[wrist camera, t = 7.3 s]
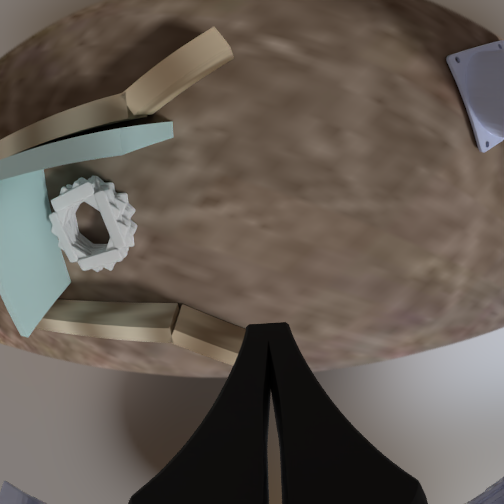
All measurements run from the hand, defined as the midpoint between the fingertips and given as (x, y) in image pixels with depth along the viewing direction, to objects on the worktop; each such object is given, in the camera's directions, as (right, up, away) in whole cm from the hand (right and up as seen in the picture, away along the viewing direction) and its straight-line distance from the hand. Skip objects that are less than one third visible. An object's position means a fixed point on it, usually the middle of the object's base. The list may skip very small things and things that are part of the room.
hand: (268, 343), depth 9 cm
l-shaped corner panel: (-11, +6, +9) cm, 16 cm away
